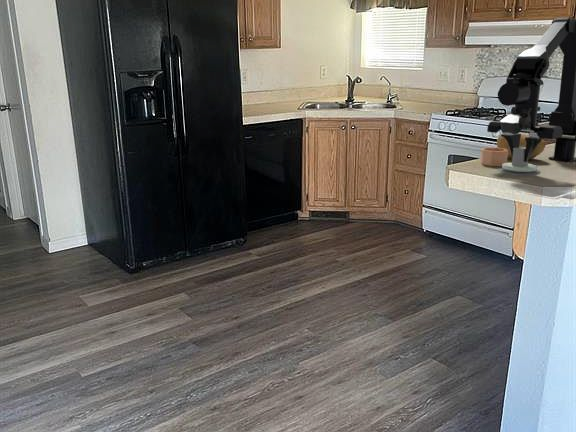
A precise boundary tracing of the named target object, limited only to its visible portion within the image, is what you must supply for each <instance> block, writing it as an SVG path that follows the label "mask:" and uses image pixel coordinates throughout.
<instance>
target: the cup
mask: <svg viewBox="0 0 576 432" xmlns="http://www.w3.org/2000/svg"><path fill="white" fill-rule="evenodd" d="M479 155H480V157H479V163H480V164H481V165H485V166H490V167H491V166H492V167H502V164H504V163H508V159H509V158H508V150H507V149H504V148H498V147H494V146H493V147H491V146H490V147H482V148H480V154H479Z"/></svg>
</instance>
